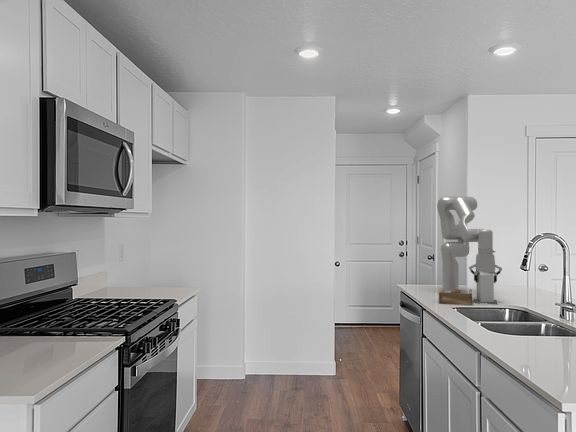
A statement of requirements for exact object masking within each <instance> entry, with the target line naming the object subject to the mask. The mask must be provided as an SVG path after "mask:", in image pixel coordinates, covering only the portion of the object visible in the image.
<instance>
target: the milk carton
mask: <svg viewBox="0 0 576 432" xmlns="http://www.w3.org/2000/svg"><path fill="white" fill-rule="evenodd" d="M476 275H477V282H475V283H476V299H477V300H478V301H480V302H494V300H495V299H494V297H495V294H494V293H495V292H494V291H495V290H494V289H495V288H494V287H495V285H494V284H495V283H494V274H493V272H481V271H479V272H478V273H477V274H476Z"/></svg>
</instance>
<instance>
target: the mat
mask: <svg viewBox="0 0 576 432" xmlns="http://www.w3.org/2000/svg"><path fill="white" fill-rule="evenodd" d="M480 303H487V304H486V305H499V304H498V301H497V300H496V299H494V302H480V301H478V300H477V298H473V304H480Z"/></svg>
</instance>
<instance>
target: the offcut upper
mask: <svg viewBox="0 0 576 432" xmlns="http://www.w3.org/2000/svg"><path fill="white" fill-rule="evenodd" d="M460 290H461V289H458V290H455V289H453V290H452V291H451V293H460Z"/></svg>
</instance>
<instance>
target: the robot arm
mask: <svg viewBox="0 0 576 432" xmlns="http://www.w3.org/2000/svg"><path fill="white" fill-rule="evenodd" d="M436 207H437V208H436V209H437V214H438V216H439V219H440V230H441V231H440V232H441V237H442V238H443V240H447V241H446V242H443V243H442V244H441V245H440V253H441V257H442V258H441V261H442V288H443V292H448V293H451V291H452V290H453V289H455V290H460V293H462V291H461V289H459V262H458V260H457V259H456V258H464V257H467V256H468V255H470V243H477V246H478V247H477V253H476V257H475V264H472V265H470V266H469V267H468V269H469V271H470V273H471V274H473V276H474V277H473V281H474V282H475V283H476V282H477V273H478V272H479V271H481V272H493V274H494V284H496V282H497V281H498V275H499V274H501V272H502V271H503V267H501V266H499V265H497V264H496V259H495V258H496V257H495V254H494V253H496V249H494V248H493V246H494V245H493V243H494V242H493V240H494V239H493V238H494V236H493V235H494V234H493V230H491V229H484V228H468V227H467V224H468V223H470V222H471V223H472V221H473V220H474V219H475V212H474V211H475V210H476V209H477V208H478V201H477V199H476V198H475V197H473V196H442V197H440V198H439V199H438V201H437V203H436ZM451 211H455V212H456V214H457V216H458V219H459V222H458V224H456V221H455V217H454V215H453V214H452V212H451ZM454 240H455V241H454ZM474 268H475V271H474V270H473V269H474ZM496 268H497V270H498V271H497V272H496Z"/></svg>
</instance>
